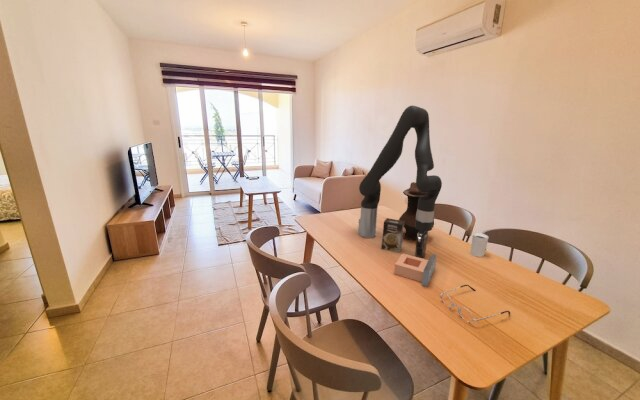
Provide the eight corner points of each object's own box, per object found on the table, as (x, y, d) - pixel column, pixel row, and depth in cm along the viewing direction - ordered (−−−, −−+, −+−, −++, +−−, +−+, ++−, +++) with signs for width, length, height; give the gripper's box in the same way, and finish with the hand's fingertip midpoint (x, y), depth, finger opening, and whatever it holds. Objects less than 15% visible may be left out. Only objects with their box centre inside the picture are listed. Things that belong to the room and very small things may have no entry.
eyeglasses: (435, 300, 96) (436, 288, 95) (472, 289, 102) (474, 278, 101) (473, 330, 82) (476, 317, 80) (514, 316, 88) (517, 303, 87)
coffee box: (380, 251, 132) (383, 221, 128) (384, 246, 138) (386, 217, 133) (399, 255, 128) (402, 224, 124) (401, 250, 134) (404, 220, 129)
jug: (437, 244, 140) (445, 190, 132) (402, 243, 141) (408, 189, 132) (423, 229, 161) (429, 181, 152) (393, 229, 161) (397, 181, 153)
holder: (393, 273, 110) (394, 264, 109) (401, 262, 119) (402, 253, 118) (422, 282, 104) (423, 272, 103) (428, 269, 113) (429, 260, 112)
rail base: (373, 273, 113) (374, 256, 110) (385, 257, 126) (386, 242, 123) (432, 291, 100) (434, 273, 98) (439, 272, 113) (441, 256, 111)
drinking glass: (487, 258, 126) (491, 239, 123) (472, 256, 127) (475, 237, 125) (481, 251, 132) (485, 233, 130) (467, 250, 134) (470, 232, 131)
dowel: (413, 259, 124) (416, 236, 121) (415, 255, 128) (418, 233, 124) (423, 262, 122) (426, 238, 119) (425, 258, 125) (428, 235, 122)
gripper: (419, 213, 127) (415, 245, 132) (412, 221, 115) (408, 256, 120) (436, 216, 123) (431, 249, 128) (430, 225, 111) (425, 261, 116)
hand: (420, 252), depth 124 cm, fingers closed on dowel, 4 cm apart
